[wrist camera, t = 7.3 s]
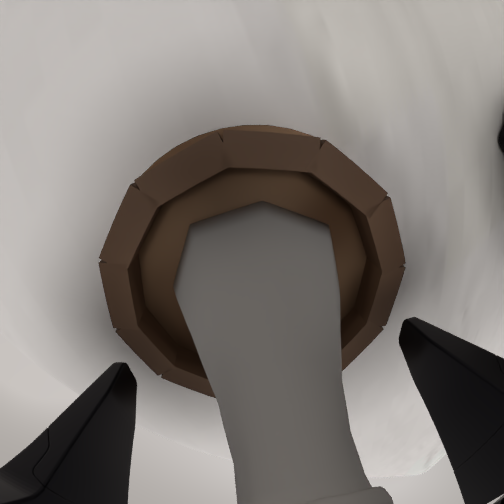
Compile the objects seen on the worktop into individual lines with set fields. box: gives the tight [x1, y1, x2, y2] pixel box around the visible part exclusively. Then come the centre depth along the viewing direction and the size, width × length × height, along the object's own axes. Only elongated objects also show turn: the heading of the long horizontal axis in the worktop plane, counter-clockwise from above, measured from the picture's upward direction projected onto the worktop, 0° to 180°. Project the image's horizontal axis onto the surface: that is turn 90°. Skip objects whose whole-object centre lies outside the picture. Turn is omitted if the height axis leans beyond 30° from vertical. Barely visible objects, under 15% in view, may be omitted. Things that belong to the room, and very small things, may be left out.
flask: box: [173, 201, 393, 504], centre depth 7 cm, size 7×7×10 cm
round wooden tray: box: [99, 125, 406, 398], centre depth 11 cm, size 13×13×2 cm
